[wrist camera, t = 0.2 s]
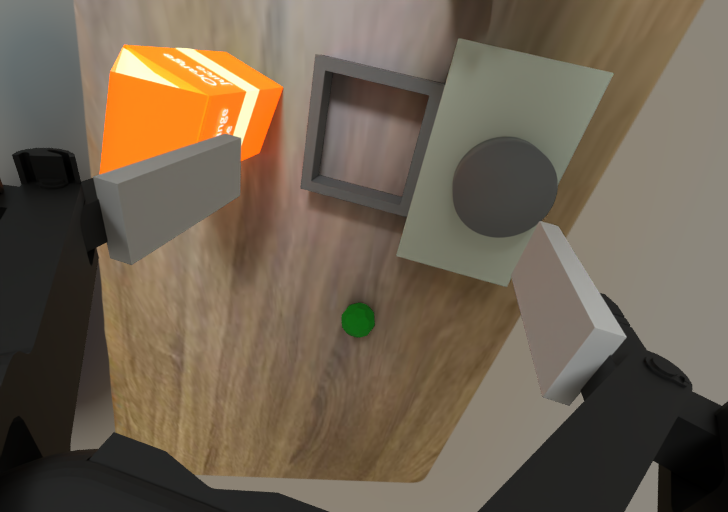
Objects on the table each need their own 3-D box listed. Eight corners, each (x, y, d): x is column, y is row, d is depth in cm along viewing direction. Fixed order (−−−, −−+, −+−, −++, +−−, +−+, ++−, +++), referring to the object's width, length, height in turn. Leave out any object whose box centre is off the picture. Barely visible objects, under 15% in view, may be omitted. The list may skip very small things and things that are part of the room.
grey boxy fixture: (329, 13, 36) (297, -2, 28) (588, 72, 34) (630, 73, 26) (305, 208, 47) (277, 235, 39) (499, 261, 45) (510, 302, 37)
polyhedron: (356, 290, 52) (348, 310, 48) (383, 308, 52) (378, 328, 48) (340, 312, 54) (331, 332, 50) (366, 328, 55) (360, 349, 51)
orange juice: (284, 87, 40) (163, 101, 23) (260, 154, 45) (143, 208, 28) (224, 50, 40) (54, 37, 23) (205, 121, 44) (51, 155, 27)
